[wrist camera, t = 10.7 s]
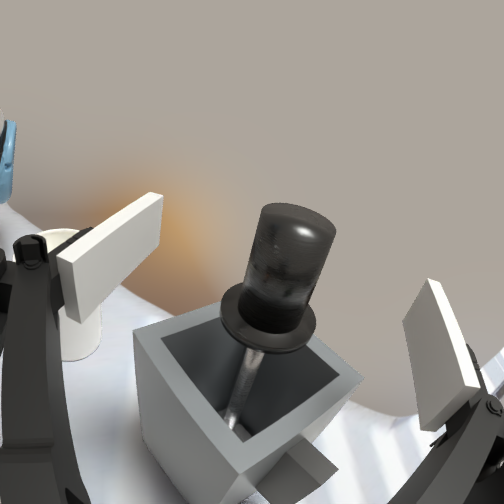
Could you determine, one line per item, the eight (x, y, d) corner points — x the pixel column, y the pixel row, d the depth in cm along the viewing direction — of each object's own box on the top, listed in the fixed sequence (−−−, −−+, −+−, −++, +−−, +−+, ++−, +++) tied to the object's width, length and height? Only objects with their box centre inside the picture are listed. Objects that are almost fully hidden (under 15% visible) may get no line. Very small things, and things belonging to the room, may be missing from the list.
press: (143, 440, 25) (132, 330, 17) (225, 402, 32) (260, 287, 24) (226, 547, 18) (284, 520, 10) (307, 488, 24) (399, 406, 16)
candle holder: (123, 345, 35) (119, 262, 29) (54, 380, 27) (26, 296, 21) (86, 299, 39) (79, 220, 33) (24, 324, 32) (3, 243, 26)
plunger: (166, 439, 24) (185, 192, 13) (225, 410, 29) (294, 184, 17) (210, 497, 20) (307, 289, 9) (270, 460, 25) (400, 246, 13)
